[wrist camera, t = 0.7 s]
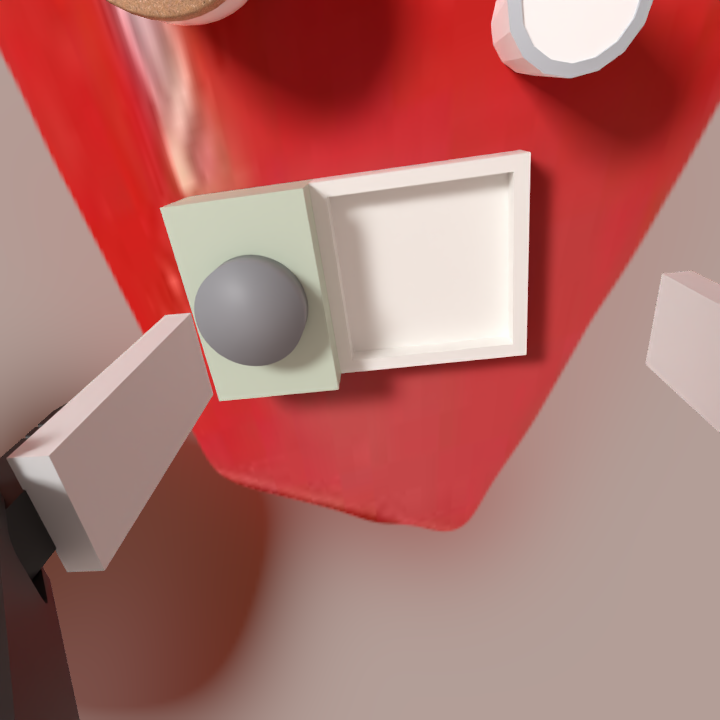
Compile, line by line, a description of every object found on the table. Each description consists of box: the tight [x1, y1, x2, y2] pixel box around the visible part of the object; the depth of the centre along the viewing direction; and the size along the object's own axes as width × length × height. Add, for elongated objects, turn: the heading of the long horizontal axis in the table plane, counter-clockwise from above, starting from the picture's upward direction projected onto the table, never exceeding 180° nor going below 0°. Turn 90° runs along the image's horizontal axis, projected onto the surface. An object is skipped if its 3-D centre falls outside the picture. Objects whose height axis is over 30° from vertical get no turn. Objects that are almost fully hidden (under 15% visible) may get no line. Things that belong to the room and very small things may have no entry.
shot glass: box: [491, 0, 653, 78], centre depth 25 cm, size 7×7×7 cm
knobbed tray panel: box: [160, 150, 531, 401], centre depth 33 cm, size 14×23×7 cm, turn 98°
